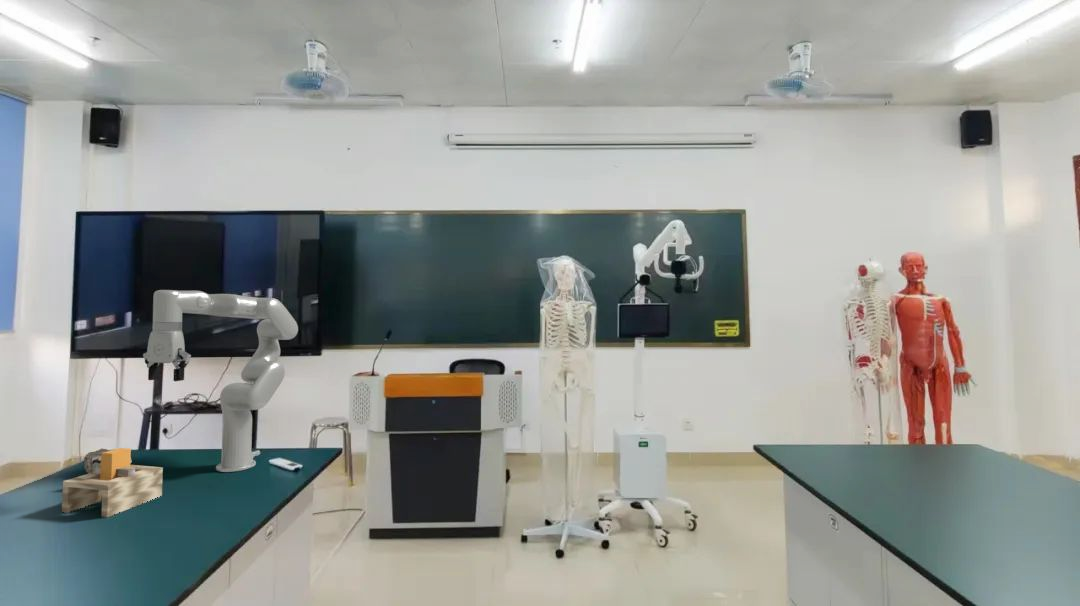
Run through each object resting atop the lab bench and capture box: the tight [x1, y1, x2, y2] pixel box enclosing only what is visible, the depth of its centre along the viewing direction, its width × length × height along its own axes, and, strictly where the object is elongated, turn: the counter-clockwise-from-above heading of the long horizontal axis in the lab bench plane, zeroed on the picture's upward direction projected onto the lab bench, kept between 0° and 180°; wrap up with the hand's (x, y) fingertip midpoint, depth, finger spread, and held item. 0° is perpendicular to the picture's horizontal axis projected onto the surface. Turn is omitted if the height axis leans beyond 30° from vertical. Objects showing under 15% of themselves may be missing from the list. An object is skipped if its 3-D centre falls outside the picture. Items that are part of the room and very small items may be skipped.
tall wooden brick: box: [100, 447, 132, 481], centre depth 142 cm, size 5×4×10 cm
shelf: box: [61, 464, 164, 518], centre depth 142 cm, size 16×16×11 cm
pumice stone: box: [83, 448, 111, 474], centre depth 170 cm, size 14×12×8 cm
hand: (166, 380), depth 153 cm, fingers open, 9 cm apart
